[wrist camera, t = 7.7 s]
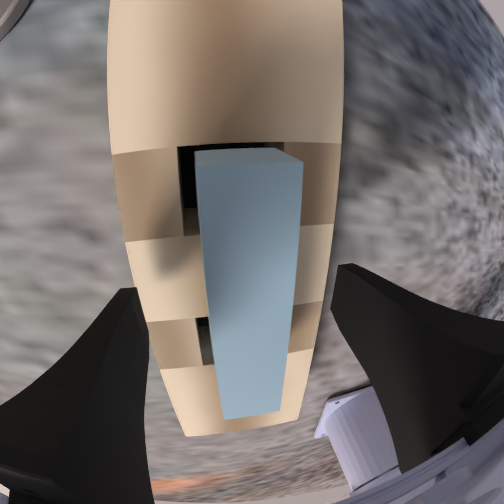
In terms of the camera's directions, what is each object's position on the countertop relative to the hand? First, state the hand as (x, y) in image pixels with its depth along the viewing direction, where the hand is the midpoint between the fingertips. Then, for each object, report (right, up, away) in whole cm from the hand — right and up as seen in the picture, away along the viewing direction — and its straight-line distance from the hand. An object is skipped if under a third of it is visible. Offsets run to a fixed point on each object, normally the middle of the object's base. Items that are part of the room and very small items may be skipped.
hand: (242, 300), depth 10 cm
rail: (-1, +2, +4) cm, 5 cm away
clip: (-1, +2, +4) cm, 5 cm away
